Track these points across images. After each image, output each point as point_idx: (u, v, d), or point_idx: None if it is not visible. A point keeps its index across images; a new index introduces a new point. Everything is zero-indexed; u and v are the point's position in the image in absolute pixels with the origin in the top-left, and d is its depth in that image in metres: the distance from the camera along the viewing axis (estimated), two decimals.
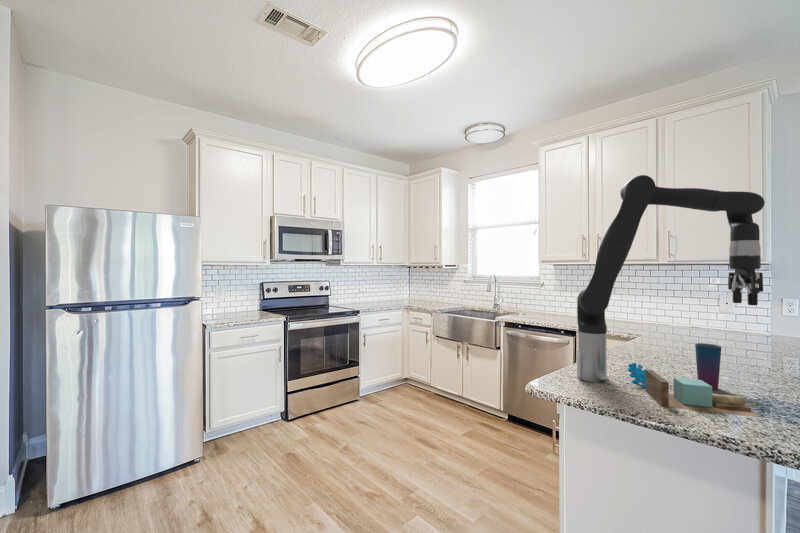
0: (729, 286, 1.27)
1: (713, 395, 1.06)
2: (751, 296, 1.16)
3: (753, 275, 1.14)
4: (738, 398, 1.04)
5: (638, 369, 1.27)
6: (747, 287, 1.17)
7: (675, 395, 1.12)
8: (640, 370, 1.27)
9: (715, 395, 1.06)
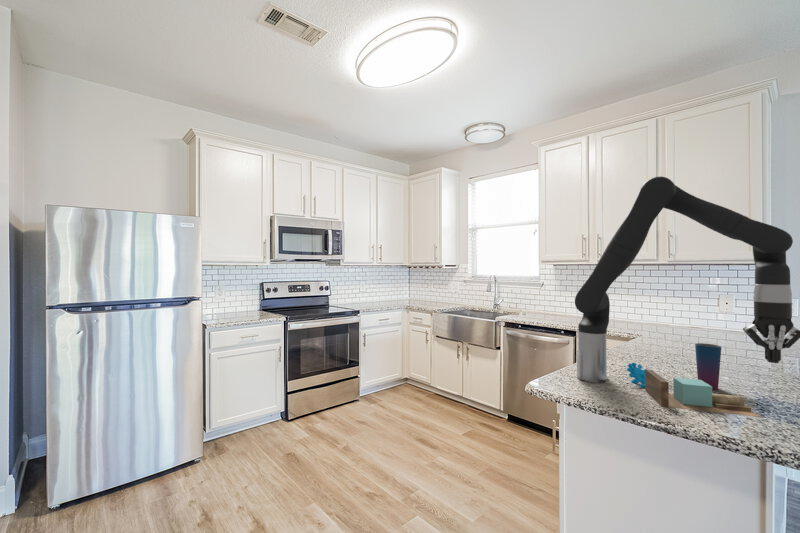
0: (764, 342, 1.03)
1: (712, 394, 1.07)
2: (779, 353, 1.02)
3: None
4: (737, 397, 1.05)
5: (638, 369, 1.27)
6: (780, 342, 1.01)
7: (675, 395, 1.12)
8: (640, 369, 1.27)
9: (714, 394, 1.07)
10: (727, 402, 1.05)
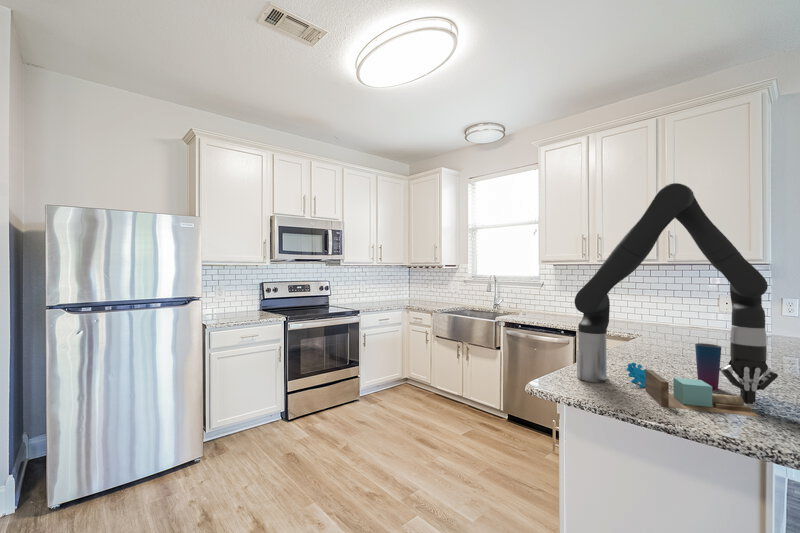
0: (739, 384, 1.04)
1: None
2: (754, 394, 1.04)
3: (775, 377, 1.02)
4: (736, 397, 1.05)
5: (637, 369, 1.27)
6: (755, 384, 1.03)
7: (675, 395, 1.12)
8: (639, 369, 1.27)
9: (713, 394, 1.07)
10: (726, 402, 1.05)
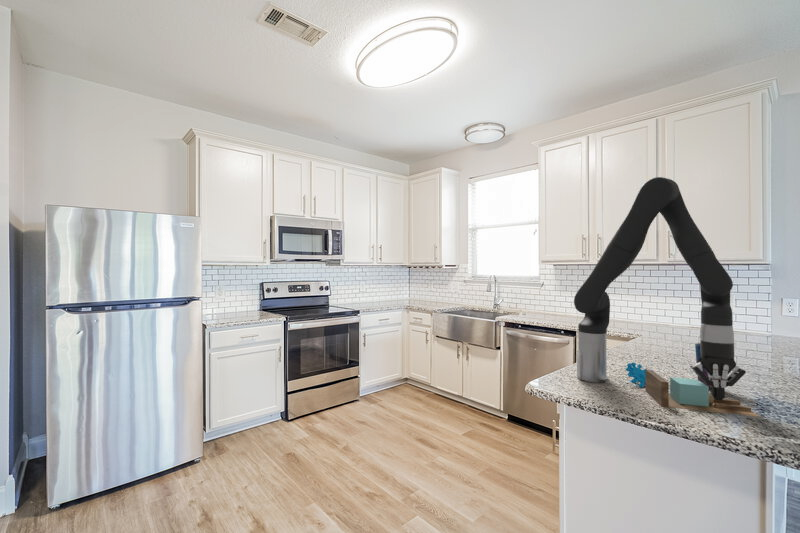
0: (709, 380, 1.06)
1: None
2: (723, 390, 1.06)
3: (743, 373, 1.04)
4: None
5: (637, 369, 1.27)
6: (724, 381, 1.05)
7: (672, 395, 1.12)
8: (639, 369, 1.27)
9: None
10: None
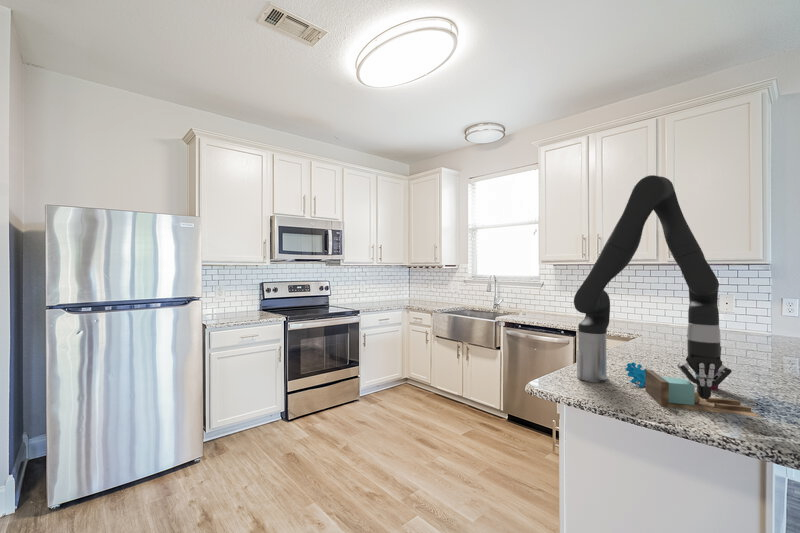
0: (695, 379, 1.07)
1: None
2: (709, 389, 1.07)
3: (729, 373, 1.05)
4: None
5: (637, 368, 1.27)
6: (710, 380, 1.06)
7: None
8: (639, 369, 1.28)
9: None
10: None
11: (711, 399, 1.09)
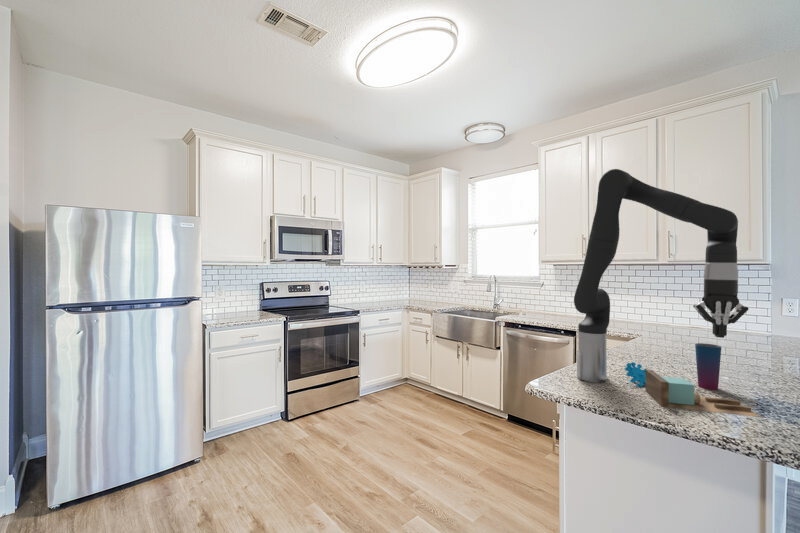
0: (711, 318, 1.07)
1: None
2: (725, 328, 1.07)
3: (746, 310, 1.05)
4: (694, 395, 1.07)
5: (636, 368, 1.28)
6: (726, 318, 1.06)
7: None
8: (639, 369, 1.28)
9: None
10: None
11: (711, 399, 1.09)
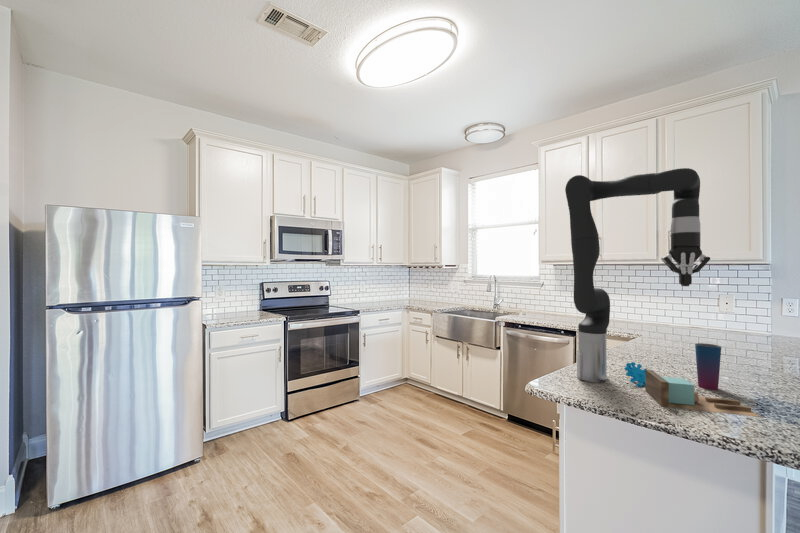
0: (677, 268, 1.17)
1: None
2: (690, 277, 1.16)
3: (708, 260, 1.15)
4: None
5: (636, 368, 1.28)
6: (691, 268, 1.16)
7: None
8: (638, 369, 1.28)
9: None
10: None
11: (711, 399, 1.09)
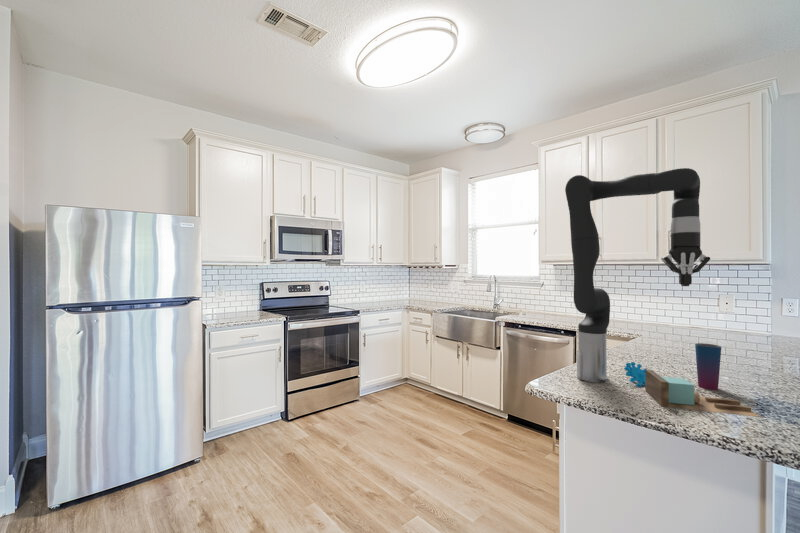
0: (677, 268, 1.17)
1: None
2: (690, 277, 1.16)
3: (708, 260, 1.15)
4: None
5: (636, 368, 1.28)
6: (691, 268, 1.16)
7: None
8: (638, 369, 1.28)
9: None
10: None
11: (711, 399, 1.09)
